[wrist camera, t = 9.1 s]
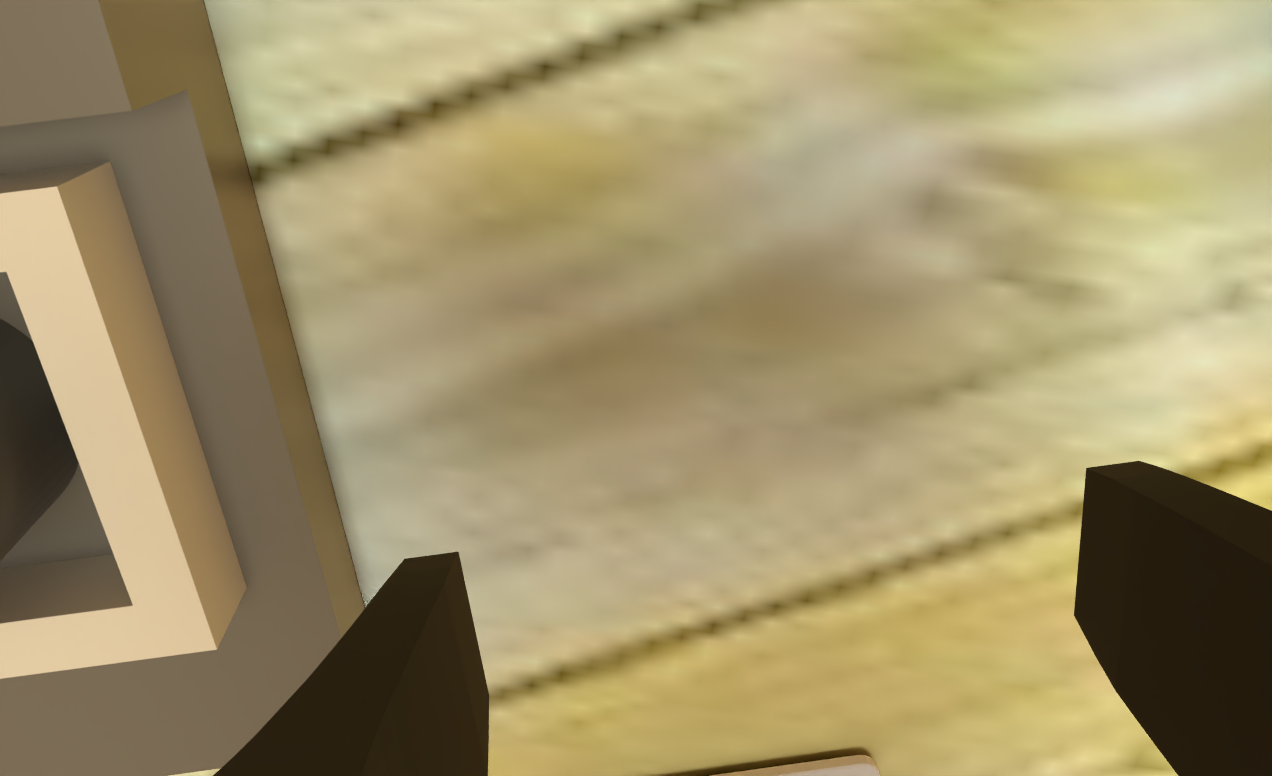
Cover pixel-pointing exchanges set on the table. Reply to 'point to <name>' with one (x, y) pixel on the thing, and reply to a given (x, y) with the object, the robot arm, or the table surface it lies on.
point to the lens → (28, 439)
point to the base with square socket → (153, 409)
